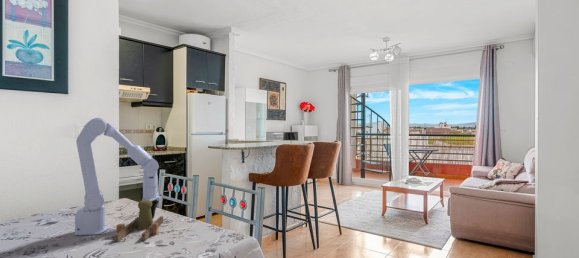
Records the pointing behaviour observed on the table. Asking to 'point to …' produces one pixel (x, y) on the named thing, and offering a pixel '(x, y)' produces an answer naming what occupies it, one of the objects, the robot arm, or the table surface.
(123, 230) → the guide channel
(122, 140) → the robot arm
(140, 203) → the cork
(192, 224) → the table surface
